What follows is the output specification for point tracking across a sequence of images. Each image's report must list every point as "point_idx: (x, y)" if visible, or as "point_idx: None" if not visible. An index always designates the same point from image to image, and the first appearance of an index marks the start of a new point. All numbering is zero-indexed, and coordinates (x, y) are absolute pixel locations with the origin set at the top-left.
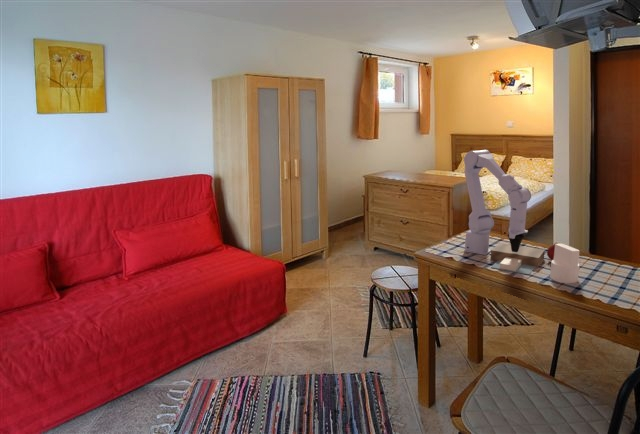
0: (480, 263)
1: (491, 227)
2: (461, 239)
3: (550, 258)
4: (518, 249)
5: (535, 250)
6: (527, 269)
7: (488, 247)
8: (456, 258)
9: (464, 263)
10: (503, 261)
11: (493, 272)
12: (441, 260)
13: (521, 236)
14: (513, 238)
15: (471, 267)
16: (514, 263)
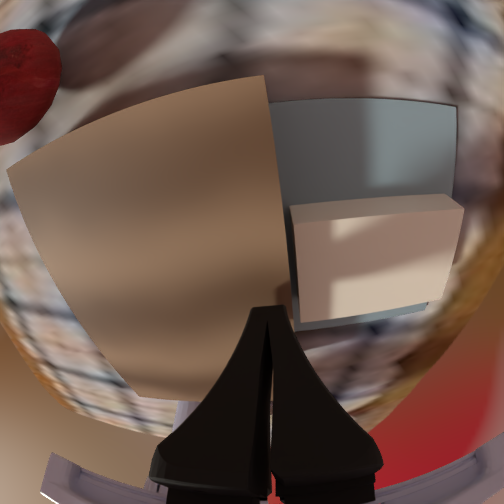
0: (377, 354)
1: (161, 487)
2: (150, 428)
3: (58, 86)
4: (267, 320)
5: (58, 212)
6: (380, 133)
7: (196, 401)
8: (352, 405)
9: (397, 377)
10: (404, 299)
11: (473, 274)
12: (389, 409)
13: (307, 480)
14: (501, 435)
15: (434, 348)
16: (420, 235)
